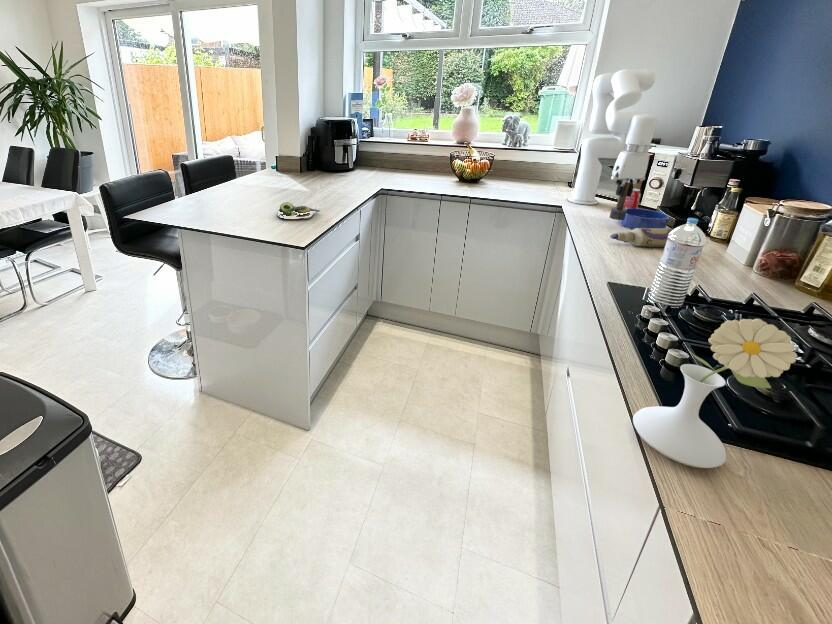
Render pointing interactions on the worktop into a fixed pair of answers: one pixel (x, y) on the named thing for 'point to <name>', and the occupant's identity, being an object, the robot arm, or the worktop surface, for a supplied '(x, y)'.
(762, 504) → the worktop surface
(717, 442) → the flower in vase
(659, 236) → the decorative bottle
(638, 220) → the blue bowl
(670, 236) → the water bottle
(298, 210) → the salad plate
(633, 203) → the soda can
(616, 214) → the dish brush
